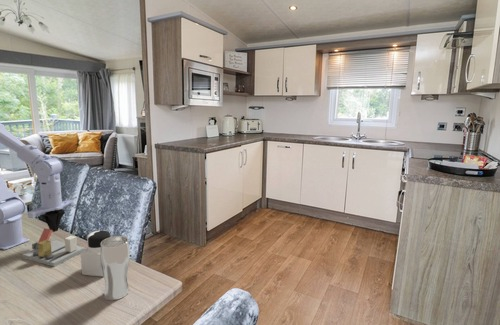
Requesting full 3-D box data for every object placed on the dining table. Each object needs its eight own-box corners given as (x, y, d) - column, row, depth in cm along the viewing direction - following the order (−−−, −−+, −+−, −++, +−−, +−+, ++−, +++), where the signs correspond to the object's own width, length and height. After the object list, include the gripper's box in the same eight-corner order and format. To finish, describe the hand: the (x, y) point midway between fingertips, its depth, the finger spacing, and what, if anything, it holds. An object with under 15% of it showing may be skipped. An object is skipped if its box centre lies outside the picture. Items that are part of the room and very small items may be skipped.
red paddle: (34, 247, 92) (43, 228, 94) (37, 248, 93) (46, 228, 95) (42, 249, 91) (50, 229, 93) (45, 250, 92) (53, 230, 94)
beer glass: (136, 288, 76) (135, 238, 73) (116, 304, 69) (114, 249, 67) (116, 282, 78) (114, 233, 75) (96, 297, 71) (93, 244, 69)
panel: (20, 257, 89) (19, 249, 88) (53, 242, 99) (53, 235, 99) (54, 266, 84) (53, 258, 84) (85, 250, 95) (84, 243, 94)
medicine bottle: (118, 264, 87) (116, 229, 85) (104, 277, 80) (102, 239, 78) (97, 262, 88) (95, 227, 86) (81, 275, 81) (78, 237, 79)
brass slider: (38, 255, 87) (37, 243, 86) (46, 252, 89) (45, 239, 89) (44, 257, 86) (43, 244, 86) (51, 253, 89) (50, 241, 88)
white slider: (65, 250, 91) (64, 238, 90) (72, 247, 93) (71, 235, 93) (70, 252, 90) (69, 239, 90) (77, 248, 93) (76, 236, 92)
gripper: (37, 201, 86) (41, 241, 88) (78, 189, 99) (81, 225, 101) (21, 198, 88) (25, 237, 90) (64, 187, 101) (66, 222, 104)
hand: (54, 230), depth 96 cm, fingers closed
